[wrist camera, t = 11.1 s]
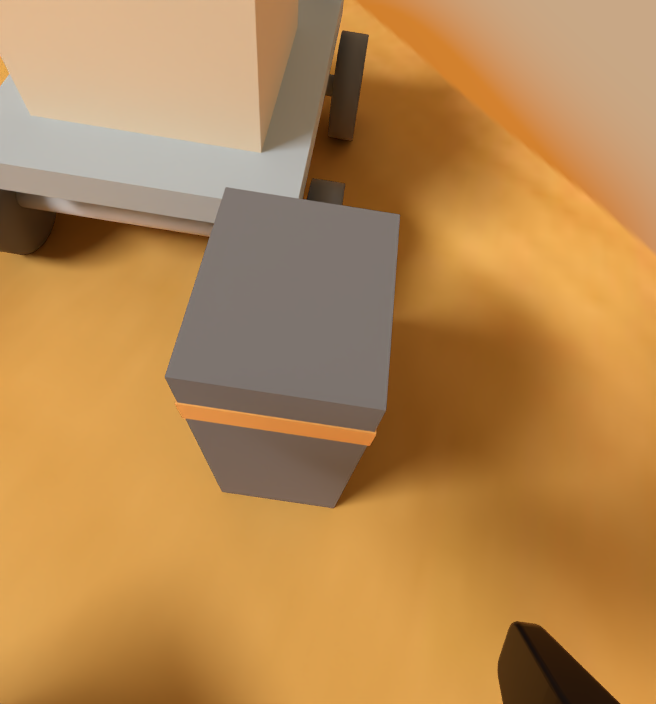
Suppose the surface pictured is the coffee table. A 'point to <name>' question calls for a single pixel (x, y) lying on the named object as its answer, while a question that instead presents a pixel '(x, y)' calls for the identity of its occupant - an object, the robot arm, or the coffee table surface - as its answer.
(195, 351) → the grey box
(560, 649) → the robot arm
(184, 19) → the trolley
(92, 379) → the coffee table surface
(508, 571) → the coffee table surface
